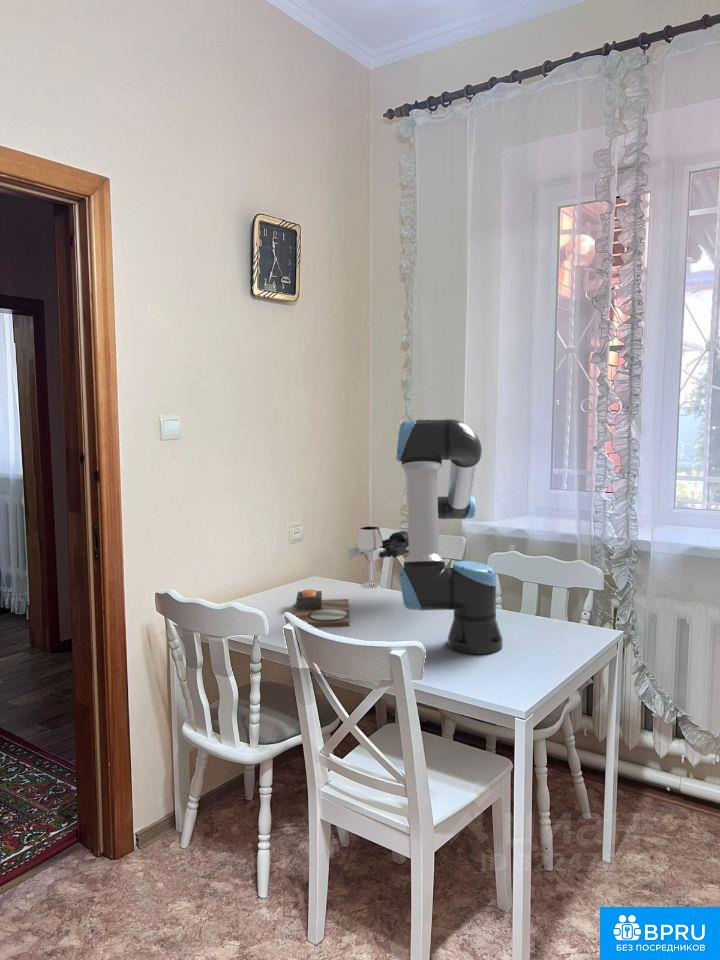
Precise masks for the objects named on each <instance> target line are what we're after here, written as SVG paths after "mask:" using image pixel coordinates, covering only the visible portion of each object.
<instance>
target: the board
mask: <svg viewBox="0 0 720 960" xmlns="http://www.w3.org/2000/svg"><path fill="white" fill-rule="evenodd" d="M316 591H317V596H316V597H302V591H297V595H296V600H295V604H294V609H293V612H292V615H293V614H294V615H295V616H296V617H298V618H299V619H301V620H303V621H305V622H307V623H308V624H310V625H312V626H314V627H313V628H333V627H350V609H349V607H350V606H349V599H348V598H340V599H339V598H338V599H336V598H335V599H323V597H322V596H323V591H322V590H316Z"/></svg>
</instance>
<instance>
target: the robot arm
mask: <svg viewBox="0 0 720 960" xmlns="http://www.w3.org/2000/svg"><path fill="white" fill-rule="evenodd" d="M395 457H396V461H398V462H400V464H401V468H402V469H403V470H404V471H405V472H406V488H407V489H406V491H407V493H406V494H407V495H406V496H407V529H402V530H401V531H397V532H393V533H392V534H391V535H390V536H389V538H386V539H382V540H383V549H380V550H376V551H373V552H371V561H373V562H374V561H379V560H382V559H384V558H391V557H392V558H397V557H400V556H404V555H407V554H408V556H407V557H406V558H405V560H403V567H401V568H399V569H398V575H399V576H398V577H399V581H400V582H399V583H400V589H401V595H402V600H403V602H402V603H403V606H404V608H405V609H406V610H409V611H421V612H422V611H449V610H452V611H453V618H452V619H453V620H452V623H451V625H450V629H449V633H448V635H447V646H448V648H450V649H451V650H452V651H454V652H458V653H462V654H468V655H488V654H493V653H496V652H499V651H500V650H502V648H503V636H502V633H501V631H500V627H499V624H498V621H497V597H496V596H497V595H496V594H497V593H496V592H497V588H496V587H497V580H496V572H495V570H494V568H493V567H491V566H490V565H488V564H486V563H480V562H476V561H471V560H458V561H455V562H453V565H452V567H446V561H445V559H444V558H442V556H441V555H440V536H439V535H440V533H439V520H466V519H467V520H468V519H474V518H475V516H476V509H477V508H476V498H475V497H474V496H472V494H473V492H472V491H473V487H474V479H475V472H476V466H477V465H478V464H479V463H480V460H481V458H482V444H481V440H480V437H479V436H478V434H477V433H476V432H475V430H473V428H471V426H470V425H468V424H467V423H465V422H463V421H461V420H458V419H454V418H453V419H451V418H449V419H447V418H446V419H414V420H405V421H402V422H401V423H400V425H399V429H398V439H397V446H396V456H395ZM443 461H450V467H449V469H450V470H449V481H448V490H447V496H438V471H439V470H440V469H441V468H442V466H443V464H442V462H443ZM347 555H348V558H349V559H352V558H355V557H358V556H361V557H363V556H362V555H361V554H360V553H359V552H358V550H357V543H356V546H354V547H350V548H348V554H347Z"/></svg>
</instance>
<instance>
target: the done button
mask: <svg viewBox="0 0 720 960" xmlns="http://www.w3.org/2000/svg"><path fill="white" fill-rule="evenodd" d="M317 591H318V590H316V589H304V590H301V592H302V597H316V596H317Z"/></svg>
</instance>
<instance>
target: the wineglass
mask: <svg viewBox="0 0 720 960" xmlns="http://www.w3.org/2000/svg"><path fill="white" fill-rule="evenodd" d="M358 532H359V533H358V536H357V541H356V544H357V546H356V547H357V550H358V552H359V553H360V554H361V555H362V556H361V555H360V556H361V557H362V558H363V559H365V560H366V561H367V563H368V567H369V569H368V571H369V582H363V583H361V584H360V587H361V588H364V589H377V588H381V587H382V584H381V583H380V582H373V569H372V568H373V562H374V561H371V552H373V551H376V550H380V549H383V540H384V539H383V536H382V533H381V530H380V527H379V526H362V527H360V529H359V531H358Z"/></svg>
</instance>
